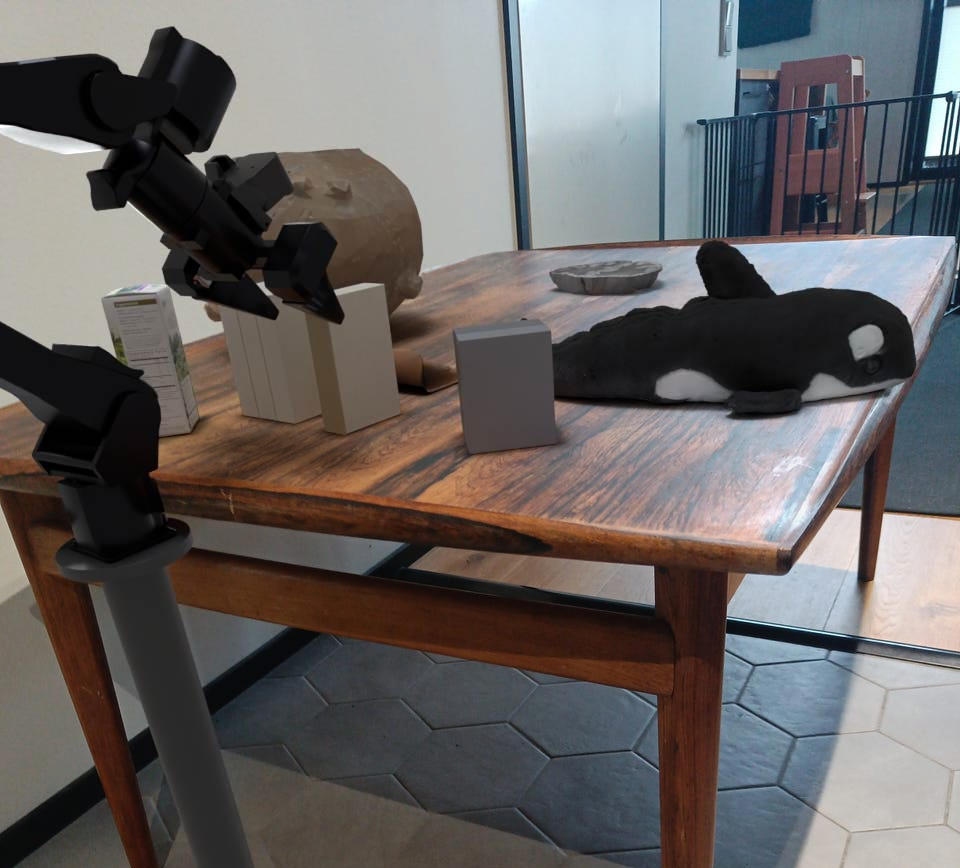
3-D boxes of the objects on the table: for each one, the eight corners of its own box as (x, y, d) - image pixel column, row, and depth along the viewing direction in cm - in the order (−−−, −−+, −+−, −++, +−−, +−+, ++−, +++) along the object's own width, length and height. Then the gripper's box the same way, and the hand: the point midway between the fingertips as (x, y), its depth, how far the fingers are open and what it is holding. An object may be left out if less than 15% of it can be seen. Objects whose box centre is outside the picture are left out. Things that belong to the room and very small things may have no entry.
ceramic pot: (219, 377, 117) (169, 163, 104) (203, 336, 145) (163, 163, 132) (459, 339, 125) (440, 136, 112) (400, 307, 153) (380, 141, 140)
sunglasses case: (471, 373, 105) (447, 328, 100) (441, 417, 102) (416, 374, 97) (363, 362, 115) (337, 321, 110) (334, 402, 113) (306, 362, 108)
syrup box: (149, 425, 99) (111, 287, 92) (202, 419, 99) (168, 281, 92) (138, 440, 94) (96, 296, 87) (194, 433, 94) (157, 289, 87)
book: (344, 435, 89) (322, 298, 82) (325, 431, 91) (301, 297, 84) (401, 414, 94) (384, 283, 87) (381, 410, 96) (363, 282, 89)
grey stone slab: (686, 280, 151) (686, 261, 150) (631, 298, 140) (631, 278, 139) (591, 276, 163) (591, 259, 161) (534, 293, 152) (533, 275, 151)
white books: (295, 424, 94) (269, 295, 88) (242, 415, 99) (215, 292, 93) (348, 404, 99) (328, 280, 93) (296, 396, 104) (273, 279, 98)
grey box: (469, 454, 80) (458, 340, 75) (462, 435, 85) (452, 328, 80) (556, 444, 81) (551, 330, 76) (544, 425, 86) (539, 318, 81)
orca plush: (893, 429, 76) (920, 246, 69) (480, 403, 95) (467, 258, 87) (921, 367, 92) (946, 213, 85) (562, 355, 110) (557, 229, 103)
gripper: (298, 105, 67) (413, 243, 79) (156, 125, 77) (278, 244, 90) (238, 234, 66) (365, 353, 78) (102, 236, 76) (233, 341, 89)
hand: (308, 318), depth 84 cm, fingers open, 9 cm apart
